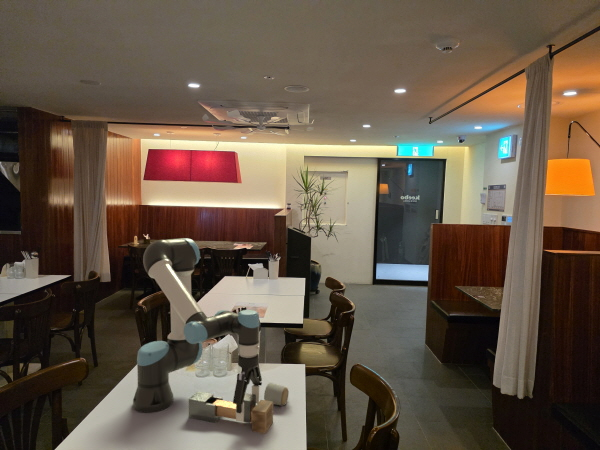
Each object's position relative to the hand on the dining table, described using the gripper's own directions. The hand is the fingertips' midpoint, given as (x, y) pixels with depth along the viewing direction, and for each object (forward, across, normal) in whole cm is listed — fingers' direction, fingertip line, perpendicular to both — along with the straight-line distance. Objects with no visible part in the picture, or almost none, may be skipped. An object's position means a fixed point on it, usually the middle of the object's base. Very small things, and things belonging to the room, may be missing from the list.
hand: (248, 411), depth 151 cm
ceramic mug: (+5, +19, -4) cm, 20 cm away
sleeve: (+5, 0, +17) cm, 17 cm away
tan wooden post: (+3, 0, +4) cm, 4 cm away
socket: (+5, 0, -6) cm, 7 cm away
